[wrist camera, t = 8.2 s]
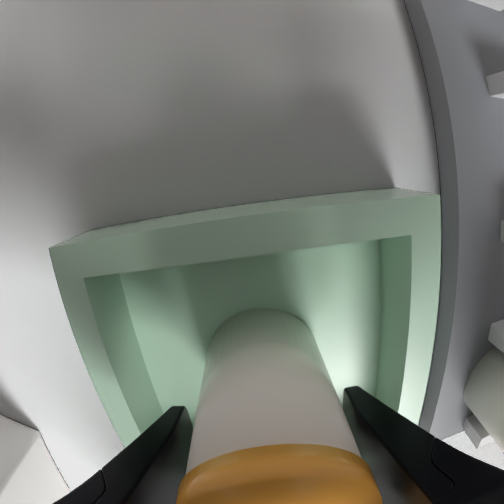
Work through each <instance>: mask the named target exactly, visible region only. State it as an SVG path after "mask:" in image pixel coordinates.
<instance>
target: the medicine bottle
mask: <svg viewBox="0 0 504 504" xmlns="http://www.w3.org/2000/svg"><path fill="white" fill-rule="evenodd" d="M68 493H70V490H69V488H68V486H67V485H66V483H65V481H64V480H63V478H62V476H61V474H60V472H59V471H58V469H57V467H56V465H55V463H54V461H53V459H52V457H51V455H50V453H49V451H48V449H47V447H46V445H45V443H44V441H43V439H42V437H41V435H40V433H39V432H38V431H37V430H35V429H32V428H30V427H27V426H25V425H22V424H20V423H18V422H15V421H13V420H11V419H9V418H6V417H4V416H2V415H0V504H52V503H54V502H56V501H57V500H59V499H61V498H62V497H64V496H65V495H67V494H68Z"/></svg>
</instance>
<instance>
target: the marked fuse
mask: <svg viewBox="0 0 504 504" xmlns="http://www.w3.org/2000/svg"><path fill="white" fill-rule="evenodd" d="M176 504H383V502H382V497H381V494H380V492H379V489H378V486H377V484H376V481H375V478H374V476H373V473H372V471H371V469H370V467H369V465H368V464H367V463H366V461H365V460H363V459H362V458H361V455H360V452H359V450H358V447H357V444H356V442H355V439H354V437H353V434H352V431H351V429H350V426H349V424H348V421H347V418H346V416H345V413H344V411H343V408H342V406H341V403H340V400H339V398H338V395H337V393H336V390H335V388H334V385H333V383H332V380H331V378H330V375H329V373H328V370H327V368H326V365H325V363H324V360H323V358H322V355H321V353H320V350H319V348H318V345H317V343H316V340H315V338H314V336H313V334H312V332H311V330H310V329H309V328H308V326H307V325H306V324H305V323H304V322H303V321H301V320H300V319H299V318H298V317H296V316H294V315H292V314H290V313H288V312H285V311H282V310H278V309H272V308H257V309H251V310H247V311H243V312H240V313H238V314H236V315H234V316H232V317H231V318H229V319H227V320H226V321H225V322H224V323H222V324H221V325H220V326H219V328H218V329H217V330H216V331H215V333H214V334H213V336H212V338H211V340H210V343H209V346H208V352H207V357H206V362H205V367H204V373H203V378H202V383H201V389H200V394H199V400H198V405H197V411H196V416H195V422H194V428H193V433H192V439H191V445H190V451H189V457H188V463H187V469H186V475H185V476H184V478H183V479H182V480H181V482H180V485H179V487H178V493H177V499H176Z"/></svg>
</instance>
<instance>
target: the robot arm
mask: <svg viewBox="0 0 504 504" xmlns="http://www.w3.org/2000/svg"><path fill="white" fill-rule="evenodd" d="M343 411H344V413H345V416H346V418H347V421H348V424H349V426H350V429H351V431H352V434H353V437H354V439H355V442H356V444H357V447H358V450H359V452H360V455H361V458H362V459H363V460H365V461H366V463H367V464H368V465H369V467H370V469H371V471H372V473H373V476H374V478H375V481H376V484H377V486H378V489H379V492H380V494H381V497H382V502H383V504H504V470H502V469H499V468H497V467H495V466H492V465H490V464H487V463H485V462H483V461H480V460H478V459H476V458H473V457H471V456H469V455H467V454H465V453H463V452H461V451H459V450H457V449H455V448H453V447H452V446H450V445H448V444H446V443H445V442H443V441H442V440H440V439H438V438H435V436H433V435H432V434H430V433H429V432H427V431H426V430H424V429H422V428H421V427H419V426H418V425H416V424H415V423H413V422H412V421H410V420H408V419H407V418H405V417H404V416H402V415H401V414H399V413H398V412H396V411H395V410H393V409H392V408H390V407H389V406H387V405H386V404H384V403H383V402H381V401H380V400H378V399H377V398H375V397H374V396H372V395H371V394H369V393H368V392H366V391H365V390H363V389H362V388H361V387H359V386H351V387H346V388H345V389H344V391H343ZM192 433H193V425H192V422H191V419H190V416H189V413H188V410H187V408H186V407H185V406H172V407H170V408H169V409H168V410H167V411H166V412H165V413H164V414H163V415H162V416H160V417H159V418H158V419H157V420H156V421H155V422H154V423H153V424H152V425H151V426H149V427H148V428H147V429H146V430H145V431H144V432H143V433H142V434H141V435H139V436H138V437H137V438H136V439H135V440H134V441H133V442H132V443H130V444H129V445H128V446H127V447H126V448H125V449H124V450H122V451H121V452H120V453H119V454H118V455H117V456H116V457H114V458H113V459H112V460H111V461H110V462H109V463H107V464H106V465H105V466H104V467H103V468H102V470H99V471H98V472H97V473H95V474H94V475H93V476H92V477H91V478H89V479H88V480H87V481H85V482H84V483H83V484H82V485H80V486H79V487H77V488H76V489H74V490H73V491H71V492H70V493H68V494H67V495H65V496H64V497H62V498H61V499H59V500H57V501H56V502H54V503H52V504H176V499H177V493H178V487H179V485H180V482H181V480H182V479H183V478H184V476H185V475H186V469H187V463H188V457H189V451H190V445H191V439H192Z"/></svg>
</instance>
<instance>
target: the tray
mask: <svg viewBox="0 0 504 504" xmlns="http://www.w3.org/2000/svg"><path fill="white" fill-rule="evenodd" d="M49 252H50V257H51V261H52V265H53V269H54V273H55V276H56V280H57V284H58V287H59V291H60V294H61V297H62V301H63V304H64V307H65V310H66V313H67V316H68V319H69V322H70V325H71V328H72V331H73V334H74V337H75V340H76V342H77V345H78V348H79V350H80V353H81V355H82V358H83V360H84V363H85V365H86V368H87V370H88V373H89V375H90V377H91V380H92V382H93V384H94V387H95V389H96V391H97V393H98V396H99V398H100V400H101V402H102V404H103V406H104V408H105V410H106V412H107V414H108V416H109V418H110V420H111V422H112V424H113V426H114V428H115V430H116V432H117V434H118V436H119V438H120V440H121V441H122V443H123V445H124V447H125V448H126V447H127V446H128V445H129V444H130V443H132V442H133V441H134V440H135V439H136V438H137V437H138V436H139V435H141V434H142V433H143V432H144V431H145V430H146V429H147V428H148V427H149V426H151V425H152V424H153V423H154V422H155V421H156V420H157V419H158V418H159V417H160V416H162V415H163V414H164V413H165V412H166V411H167V410H168V409H169V408H170V407H172V406H185V407H186V408H187V410H188V413H189V416H190V419H191V422H192V425H193V428H194V422H195V416H196V411H197V405H198V400H199V394H200V389H201V383H202V378H203V373H204V367H205V362H206V357H207V352H208V346H209V343H210V340H211V338H212V336H213V334H214V333H215V331H216V330H217V329H218V328H219V326H220V325H221V324H222V323H224V322H225V321H226V320H227V319H229V318H231V317H232V316H234V315H236V314H238V313H240V312H243V311H247V310H251V309H257V308H272V309H278V310H282V311H285V312H288V313H290V314H292V315H294V316H296V317H298V318H299V319H300V320H301V321H303V322H304V323H305V324H306V325H307V326H308V328H309V329H310V330H311V332H312V334H313V336H314V338H315V340H316V343H317V345H318V348H319V350H320V353H321V355H322V358H323V360H324V363H325V365H326V368H327V370H328V373H329V375H330V378H331V380H332V383H333V385H334V388H335V390H336V393H337V395H338V398H339V400H340V403H341V406H342V408H343V391H344V389H345V388H346V387H351V386H359V387H361V388H362V389H363V390H365V391H366V392H368V393H369V394H371V395H372V396H374V397H375V398H377V399H378V400H380V401H381V402H383V403H384V404H386V405H387V406H389V407H390V408H392V409H393V410H395V411H396V412H398V413H399V414H401V415H402V416H404V417H405V418H407V419H408V420H410V421H412V422H413V423H415V424H416V425H418V423H419V419H420V415H421V411H422V406H423V402H424V397H425V392H426V387H427V382H428V377H429V371H430V365H431V359H432V353H433V346H434V339H435V331H436V322H437V312H438V301H439V288H440V269H441V205H440V195H439V194H433V193H427V192H421V191H414V190H408V189H401V188H387V189H376V190H365V191H354V192H344V193H335V194H325V195H316V196H308V197H299V198H291V199H282V200H275V201H267V202H259V203H252V204H244V205H237V206H230V207H223V208H216V209H209V210H203V211H196V212H190V213H183V214H177V215H171V216H165V217H159V218H153V219H147V220H141V221H136V222H130V223H125V224H119V225H114V226H108V227H103V228H98V229H93V230H90V231H88V232H85V233H83V234H81V235H78V236H76V237H73V238H71V239H69V240H66V241H64V242H62V243H59V244H57V245H55V246H52V247H50V248H49Z"/></svg>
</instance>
